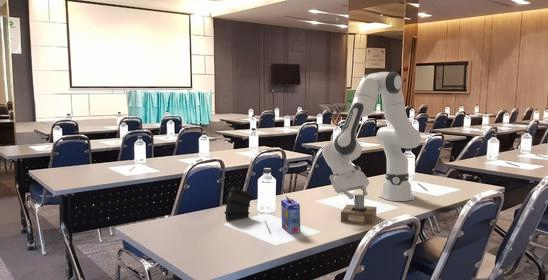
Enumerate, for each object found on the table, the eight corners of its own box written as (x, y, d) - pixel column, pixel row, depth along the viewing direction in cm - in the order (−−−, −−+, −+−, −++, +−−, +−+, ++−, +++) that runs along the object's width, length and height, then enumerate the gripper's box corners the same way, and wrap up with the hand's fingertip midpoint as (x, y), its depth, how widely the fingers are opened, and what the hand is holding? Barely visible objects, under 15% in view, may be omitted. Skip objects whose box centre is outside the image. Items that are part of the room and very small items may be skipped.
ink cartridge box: (280, 226, 198) (280, 194, 196) (292, 225, 199) (292, 193, 198) (288, 233, 188) (288, 199, 187) (300, 232, 190) (300, 198, 188)
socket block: (346, 213, 218) (346, 204, 217) (376, 216, 213) (376, 206, 212) (340, 221, 204) (340, 212, 204) (372, 224, 199) (372, 215, 199)
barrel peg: (355, 217, 211) (355, 194, 210) (364, 218, 210) (365, 194, 209) (353, 219, 207) (353, 196, 206) (363, 220, 206) (363, 197, 205)
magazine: (218, 216, 208) (230, 185, 210) (241, 224, 215) (253, 194, 217) (222, 218, 205) (234, 187, 207) (245, 226, 212) (257, 196, 214)
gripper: (331, 171, 206) (347, 196, 199) (362, 166, 218) (377, 189, 212) (324, 179, 210) (339, 204, 203) (354, 174, 222) (370, 197, 216)
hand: (359, 196), depth 208 cm, fingers open, 8 cm apart
